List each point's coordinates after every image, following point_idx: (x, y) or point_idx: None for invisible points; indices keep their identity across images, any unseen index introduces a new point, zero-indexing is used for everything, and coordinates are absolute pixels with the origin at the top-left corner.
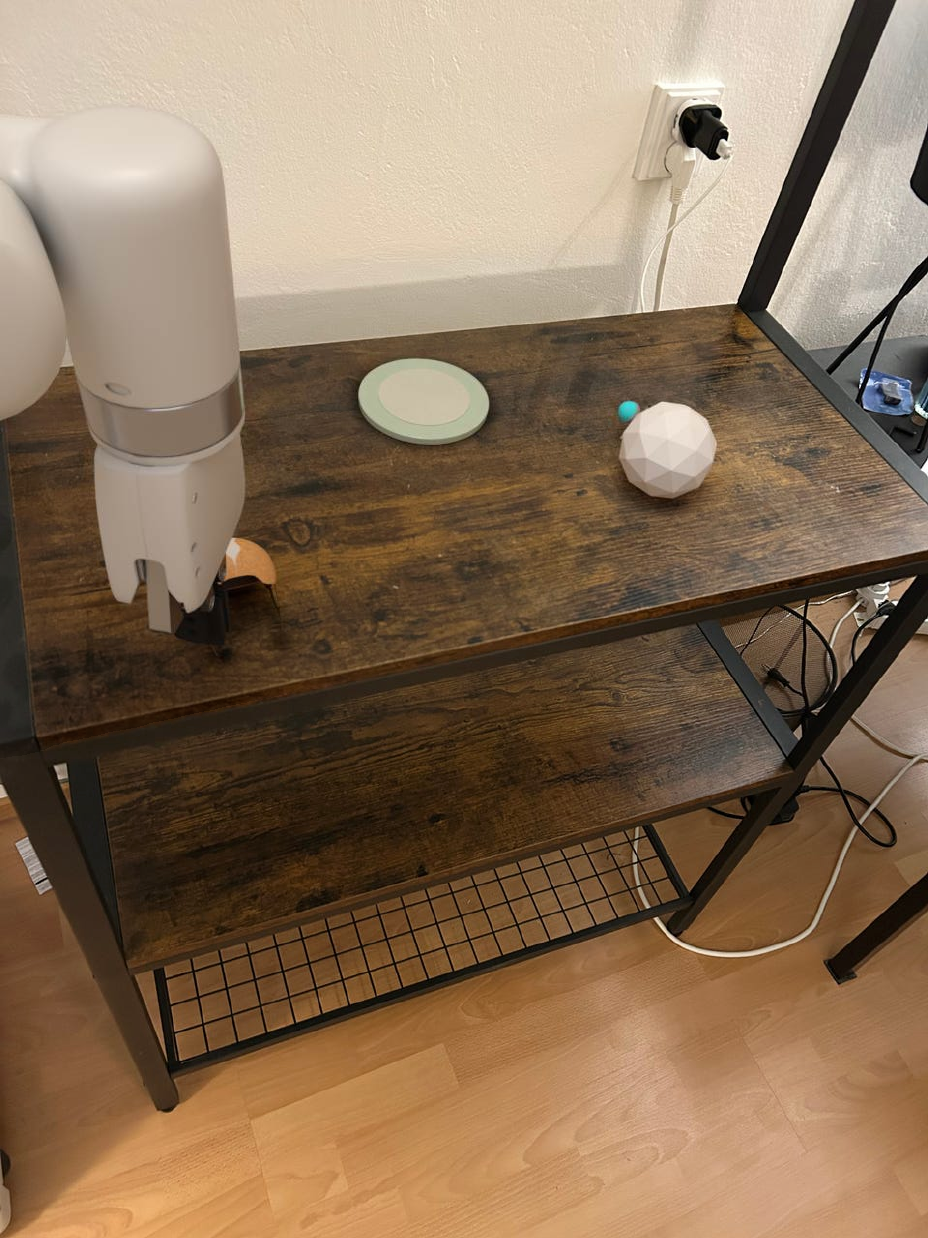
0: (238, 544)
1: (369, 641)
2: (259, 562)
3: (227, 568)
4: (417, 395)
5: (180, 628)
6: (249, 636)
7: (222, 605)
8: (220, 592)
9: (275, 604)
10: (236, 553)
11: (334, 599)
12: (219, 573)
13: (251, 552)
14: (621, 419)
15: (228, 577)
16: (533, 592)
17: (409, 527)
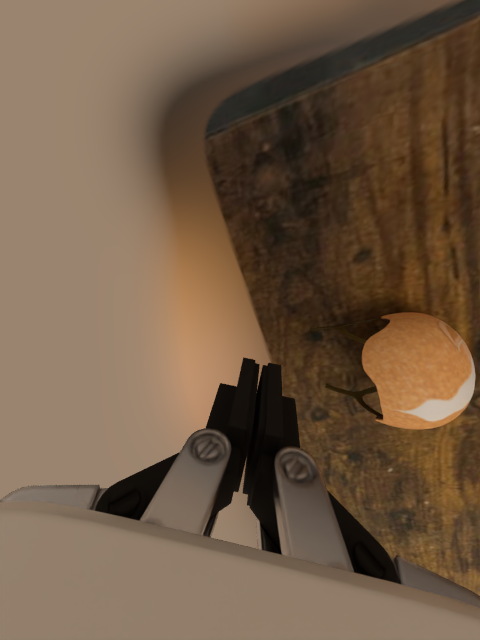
0: (442, 419)
1: (323, 447)
2: (406, 428)
3: (395, 400)
4: None
5: (215, 398)
6: (337, 355)
7: (245, 470)
8: (248, 496)
9: (370, 391)
10: (422, 416)
11: (381, 425)
12: (257, 542)
13: (425, 427)
14: None
15: (380, 395)
16: None
17: (474, 487)
